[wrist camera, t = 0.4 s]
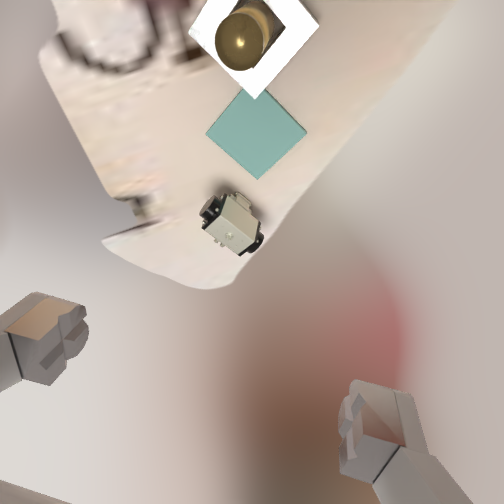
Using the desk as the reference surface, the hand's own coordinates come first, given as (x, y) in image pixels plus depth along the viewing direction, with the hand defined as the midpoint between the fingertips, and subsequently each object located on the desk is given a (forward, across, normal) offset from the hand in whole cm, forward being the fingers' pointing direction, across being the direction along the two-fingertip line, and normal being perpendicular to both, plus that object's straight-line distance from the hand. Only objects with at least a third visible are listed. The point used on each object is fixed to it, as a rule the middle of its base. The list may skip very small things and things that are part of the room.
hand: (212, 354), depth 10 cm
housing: (+46, +10, -12) cm, 49 cm away
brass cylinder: (+46, +10, -12) cm, 49 cm away
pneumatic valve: (+53, +10, +17) cm, 56 cm away
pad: (+50, +8, +3) cm, 50 cm away
